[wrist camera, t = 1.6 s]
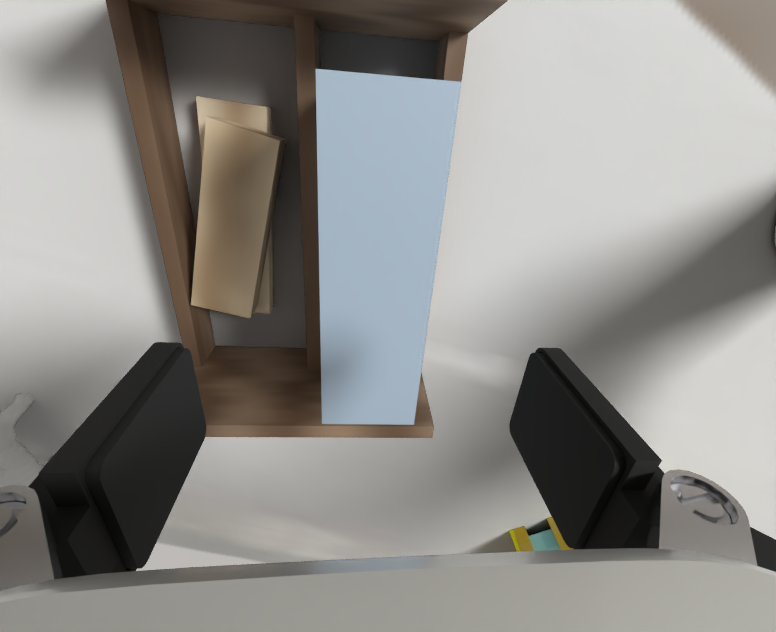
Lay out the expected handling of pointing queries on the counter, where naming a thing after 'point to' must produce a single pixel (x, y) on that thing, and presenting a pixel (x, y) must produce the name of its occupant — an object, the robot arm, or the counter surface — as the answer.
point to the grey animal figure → (15, 447)
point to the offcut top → (234, 215)
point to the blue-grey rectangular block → (378, 236)
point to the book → (539, 539)
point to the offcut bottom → (258, 120)
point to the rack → (175, 221)
